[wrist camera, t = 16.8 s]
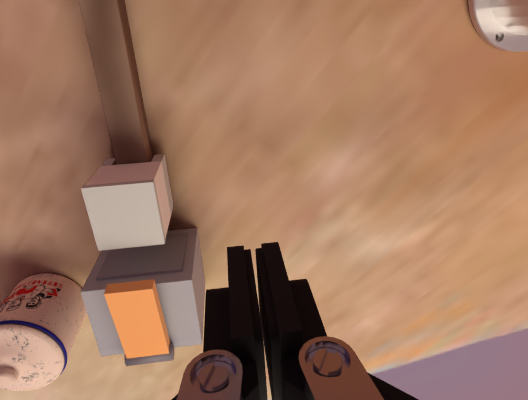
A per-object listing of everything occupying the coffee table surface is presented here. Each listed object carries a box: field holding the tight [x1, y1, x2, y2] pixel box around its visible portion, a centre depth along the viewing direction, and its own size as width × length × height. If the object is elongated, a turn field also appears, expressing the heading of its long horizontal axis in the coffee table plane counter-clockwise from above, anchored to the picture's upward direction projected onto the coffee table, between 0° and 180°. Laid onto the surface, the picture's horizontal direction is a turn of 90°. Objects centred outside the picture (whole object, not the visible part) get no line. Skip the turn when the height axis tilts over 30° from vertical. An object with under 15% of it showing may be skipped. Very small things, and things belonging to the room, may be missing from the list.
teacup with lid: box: [0, 273, 87, 391], centre depth 41 cm, size 12×9×12 cm
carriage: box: [81, 154, 173, 251], centre depth 36 cm, size 6×6×8 cm
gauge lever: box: [104, 279, 174, 366], centre depth 35 cm, size 4×10×2 cm, turn 3°
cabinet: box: [81, 228, 205, 356], centre depth 41 cm, size 10×8×10 cm
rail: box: [79, 0, 153, 165], centre depth 35 cm, size 5×30×4 cm, turn 3°
